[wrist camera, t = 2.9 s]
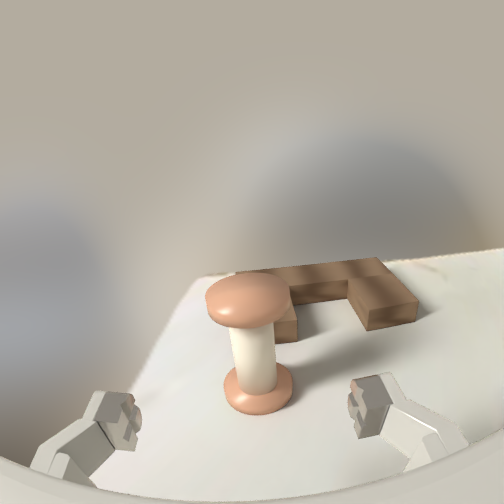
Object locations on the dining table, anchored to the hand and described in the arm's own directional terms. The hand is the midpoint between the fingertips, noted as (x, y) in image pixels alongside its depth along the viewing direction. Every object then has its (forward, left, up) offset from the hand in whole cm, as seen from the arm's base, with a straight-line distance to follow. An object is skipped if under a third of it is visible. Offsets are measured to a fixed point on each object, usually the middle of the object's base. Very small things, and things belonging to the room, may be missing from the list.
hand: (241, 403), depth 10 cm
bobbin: (0, -13, -13) cm, 19 cm away
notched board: (-9, -27, -13) cm, 32 cm away
